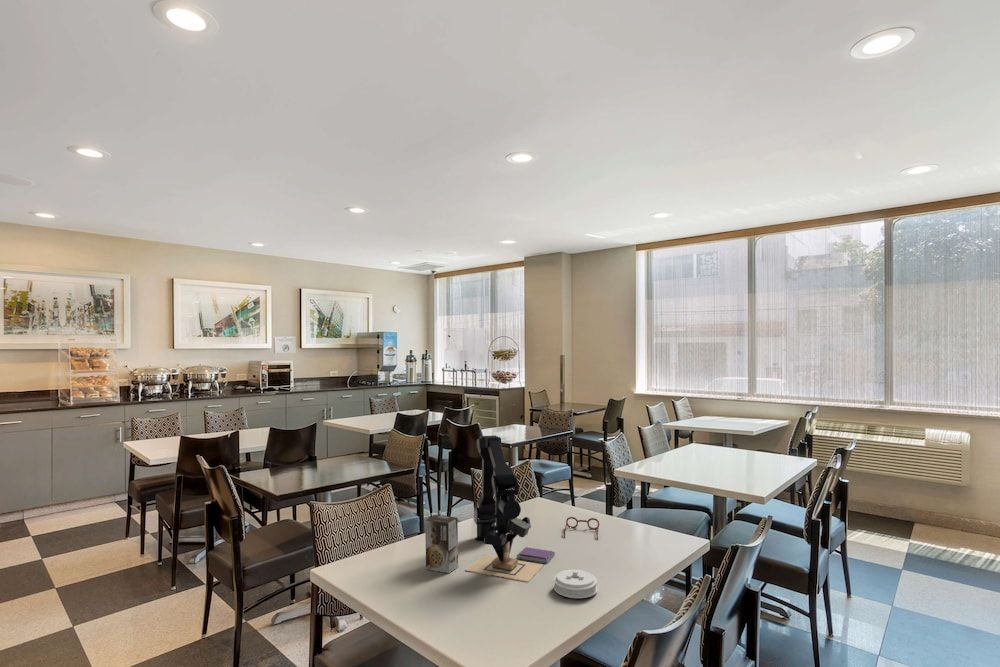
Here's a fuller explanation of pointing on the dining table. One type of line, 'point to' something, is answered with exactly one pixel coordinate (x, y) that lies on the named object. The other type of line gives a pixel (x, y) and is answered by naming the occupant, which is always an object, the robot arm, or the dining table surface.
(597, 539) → the glasses
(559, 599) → the dining table surface
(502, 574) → the stamp board
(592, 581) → the lid
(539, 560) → the ink pad
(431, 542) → the coffee box
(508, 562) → the stamp
